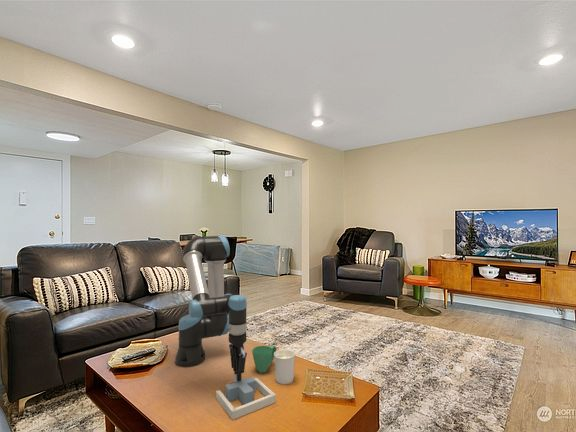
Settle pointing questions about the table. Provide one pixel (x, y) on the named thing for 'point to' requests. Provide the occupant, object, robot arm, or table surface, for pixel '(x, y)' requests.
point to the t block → (241, 390)
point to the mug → (263, 357)
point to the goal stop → (248, 407)
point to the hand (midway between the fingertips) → (237, 387)
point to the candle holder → (284, 366)
